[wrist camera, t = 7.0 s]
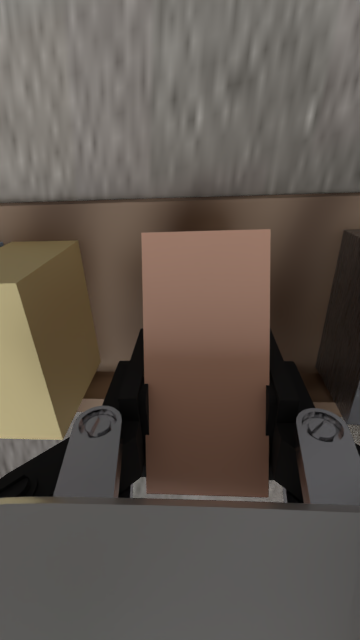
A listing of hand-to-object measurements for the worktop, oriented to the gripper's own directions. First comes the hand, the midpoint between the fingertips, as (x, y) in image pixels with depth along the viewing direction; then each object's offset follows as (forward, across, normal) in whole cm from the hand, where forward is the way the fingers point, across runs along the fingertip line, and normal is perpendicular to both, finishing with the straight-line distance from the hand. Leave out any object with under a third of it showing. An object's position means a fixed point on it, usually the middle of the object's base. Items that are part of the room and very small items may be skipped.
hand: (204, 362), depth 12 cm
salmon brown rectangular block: (+3, 0, 0) cm, 3 cm away
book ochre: (+6, +8, 0) cm, 10 cm away
